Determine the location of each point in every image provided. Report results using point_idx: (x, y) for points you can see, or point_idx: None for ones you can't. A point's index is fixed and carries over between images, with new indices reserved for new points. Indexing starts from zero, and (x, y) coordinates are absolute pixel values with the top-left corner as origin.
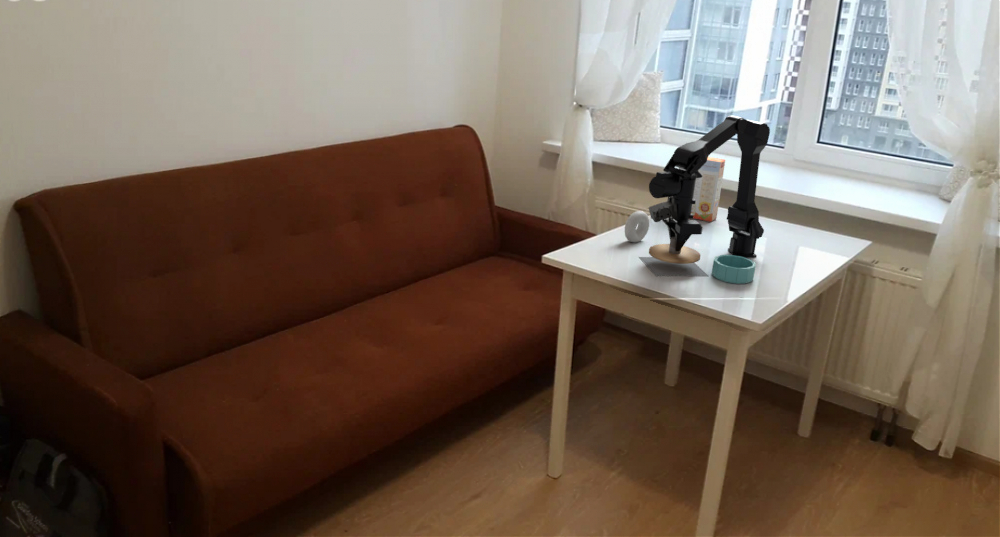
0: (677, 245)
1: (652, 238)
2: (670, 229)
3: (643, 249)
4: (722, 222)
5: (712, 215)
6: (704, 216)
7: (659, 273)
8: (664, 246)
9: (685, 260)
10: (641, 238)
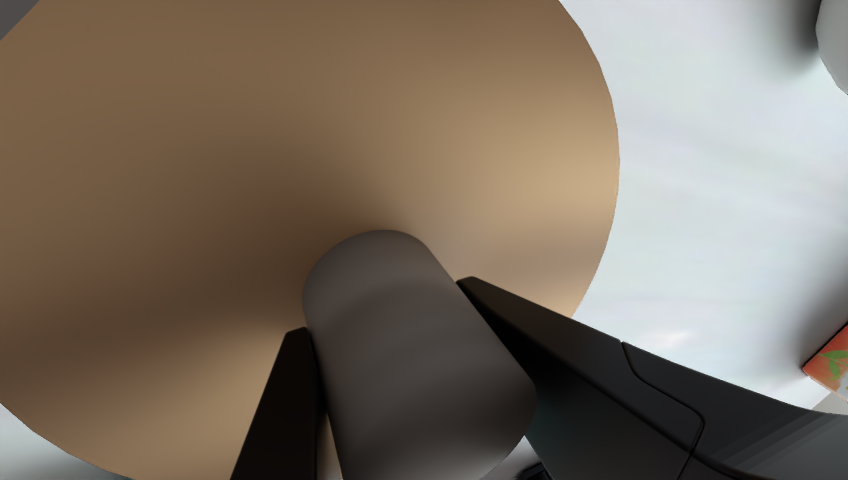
0: (262, 422)
1: (809, 150)
2: (684, 459)
3: (712, 43)
4: (783, 392)
5: (827, 386)
6: (837, 360)
7: (5, 18)
8: (554, 198)
9: (45, 414)
10: (836, 59)
